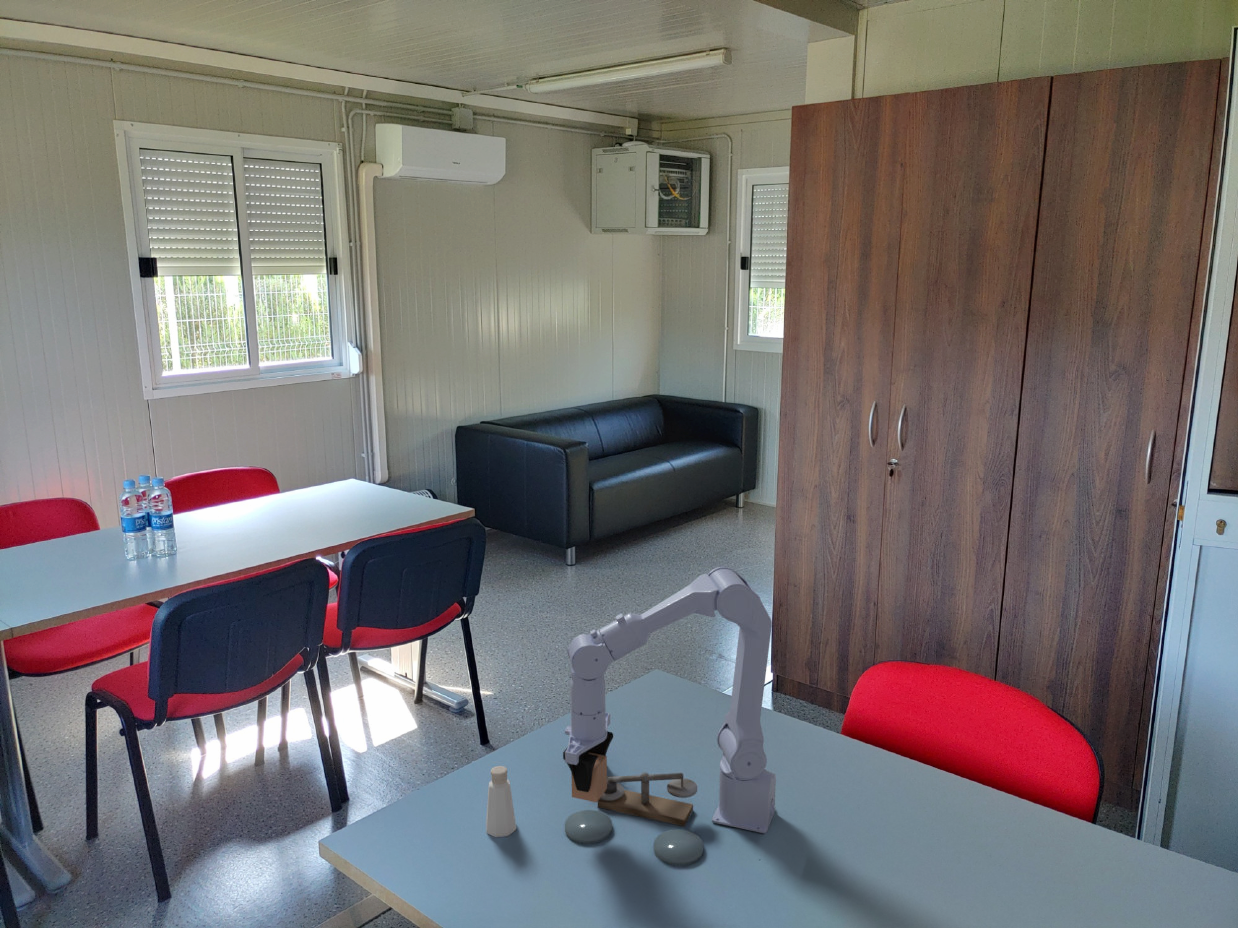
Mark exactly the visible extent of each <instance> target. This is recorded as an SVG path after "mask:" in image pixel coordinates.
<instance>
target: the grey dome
mask: <svg viewBox="0 0 1238 928" xmlns="http://www.w3.org/2000/svg"><path fill="white" fill-rule="evenodd" d="M612 831H613V822H612V819H611V818H610V816H609V815H608V814H606V813H604V812H602V811H599V810H594V809H593V810H592V809H586V810H578V811H577V812H574V813H572V814H570V815H569V816H568V817H567V818H566V819H565V822H564V833H565V836H567V838H569V840H571V841H573V842H575V843H580V844H596V843H599V842H602V841H604V840H606V839H608V837H610V835H611V834H612Z"/></svg>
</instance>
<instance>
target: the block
mask: <svg viewBox="0 0 1238 928" xmlns="http://www.w3.org/2000/svg"><path fill="white" fill-rule="evenodd" d="M589 754H592V755H597V756H598V758H597V760H596V762H595V765H594V768H593V772H592V781H591V787H590V790H589V791H588V792H584V791H579V790H577V788H576V785H575V782H574V778H573V775H572V772H571V771H570V772H571V773H570V774H571V798H575V799H578V800H582V801H587V802H593V803H598V800H599V799H600V797H601V796H602V795H603V793H604V792H605V790H606V789H607V777H608V765H607V764H608V762H607V761H608V756H607V755H606V756H604V755H599V754H594V753H589Z"/></svg>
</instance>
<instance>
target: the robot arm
mask: <svg viewBox="0 0 1238 928" xmlns="http://www.w3.org/2000/svg"><path fill="white" fill-rule="evenodd" d="M715 611H717V612H718V613H719V615H720V616H721V618H723V619H725V620H727V621H729V622H732V623H734V624H736V626H738V627H739V629H738V638H737V639H738V640H737V646H736V656H735V663H734V665H735V666H734V673H733V683H732V689H731V690H732V691H731V697H730V707H729V711H728V712H727V713H725V715H724V720H723V724H722V726H721V727H720V729H719V731H718V732H717V736H716V742H717V745H718V747H719V749H720V750H721V751H722V758H721V759H720V761H719V762H720V763H719V789H718V790H719V791H718V792H719V794H718V795H719V797H718V806H717V808H716V809H715V812H714V814H713V816H712V817H711V822H712V823H714V824H719V825H724V826H727V827H728V826H729V827H732V828H733V827H734V828H737V829H742V830H747V831H752V832H756V833H760V834H767V832H768V829H769V827H770V825H771V821H772V819H773V818H774V814H775V811H776V786H777V785H776V784H777V783H776V781H777V779H776V774H775V773H773V772H771V771H770V770H769V771H768V770H767V769H766V767H767V763H768V759H767V755H766V752H765V750H764V742H765V741H764V733H763V728H762V725H761V715H762V709H763V708H762V707H763V700H764V699H763V698H764V692H765V691H764V690H765V683H766V675H767V674H766V673H767V667H768V666H767V665H768V659H769V652H770V651H769V650H770V645H771V644H770V642H771V637H772V636H771V635H772V634H771V633H772V628H773V627H772V626H773V624H772V623H773V621H772V618H771V617H770V615H769V613H768V611H767V609H766V608H765V606H764V604H763V602H762V600H761V597H760V596H759V594H757V592H755V590H754V589H753V588H752V586H750V584H749V583H748V581H747V580H746V579H745V578H744V577H743V576H741V575H740V574H739V573H738V572H737V571H735V570H734V569H733V568H731V567H728V566H718V567H715V568H713V569H711V570H710V571H708V573H707V572H706V573H703V574H701V575H698V576H697V577H696V578H695V579H694V580H693V581H692V582H690V583H689V584H688V585H687V586H686V587H684V588H682V589H680V590H679V591H677V592H676V593H674V594H672V595H670V596H669V597H667V598H665V599H664V600H663V601H661V602H659V603H657V605H655V606H653V607H650V608H649V609H648V610H646V611H645V612H643V613H642V614H637V613H633V612H628V613H626V614H625V615H624V614H623V613H622V612H621V613H619V614H617V615H616V616H614V617H615V619H616V620H614V621H612V622H609V623H608V624H606V625H604V626H603V627H600V628H599V629H595V628H594V629H592V630H590V631H589V633H587V634H586V633H582V634H580V635H577V636H575V638H573V639H572V640H571V642H570V643H569V646H568V648H567V654H568V658H569V660H570V664H571V667H570V668H571V670H570V678H571V679H570V683H569V684H570V685H569V687H570V725H568V726H566V728H565V729H564V734H565V735H568V736H569V737H568V744H567V747H566V749H564V751H563V752H562V758H563V761H564V763H565V764H567V766H568V767H569V770H570V772H572V775H573V778H574V782H575V785H576V788H577V790H579V791H584V792H588V791H589V790H590V787H591V781H592V772H593V768H594V765H595V762H596V760H597V758H598V756H597V755H592V754H589V753H594V754H599V755H604V756H607V754H608V753H607V752H608V750H609V747H610V744H611V743H612V741H613V739H614V733H613V732H611V731H608V726H610V724H611V713H609V712H607V711H606V680H605V673H606V671H607V670H608V667H609V666H610V665H611V664H613V663H614V662H616V661H619V660H620V659H621V658H623V657H625V656H627V655H629V654H630V653H633V652H634V651H636V650H638V649H640V648H642V647H643V646H646V645H647V643H648V641H649V638H650V635H651V634H652V633H655V632H656V631H658V630H661V629H663V628H666V627H667V626H670V625H671V624H674V623H676V622H678V621H680V620H682V619H685V618H687V617H688V616H691V615H693V614H698V615H701V616H705V617H710V618H716V613H715Z"/></svg>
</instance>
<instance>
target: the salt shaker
mask: <svg viewBox="0 0 1238 928" xmlns="http://www.w3.org/2000/svg"><path fill="white" fill-rule="evenodd" d="M490 778H491V781H489V782H488V790H487V791H488V792H487V803H486V804H487V807H486V819H485V821H486V822H485V829H486V833H487V835H490V836H492V837H494V838H500V837H502V838H503V837H508V836H510V835H511V834H513V833H514V832H516V830H517V824H516V817H515V808H514V803H513V796H512V789H511V782H510V779H508V768H507V767H506V766H504V765H498V766H494V767H492V768H491V770H490Z"/></svg>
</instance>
